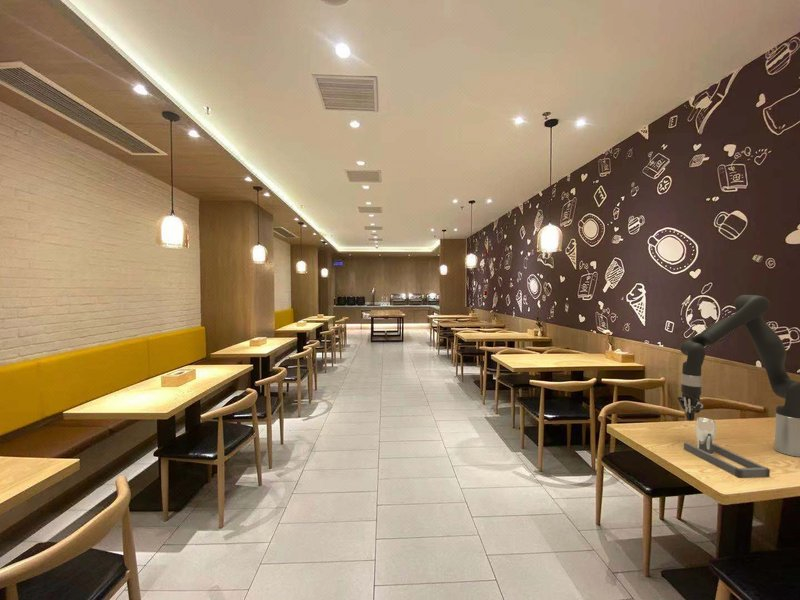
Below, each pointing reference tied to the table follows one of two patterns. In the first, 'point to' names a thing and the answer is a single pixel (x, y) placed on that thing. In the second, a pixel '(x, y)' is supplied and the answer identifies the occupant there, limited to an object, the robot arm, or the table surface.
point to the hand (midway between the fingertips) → (690, 420)
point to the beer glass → (705, 434)
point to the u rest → (750, 471)
